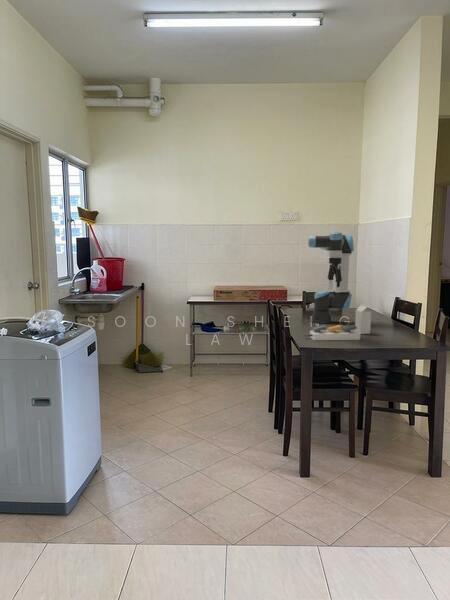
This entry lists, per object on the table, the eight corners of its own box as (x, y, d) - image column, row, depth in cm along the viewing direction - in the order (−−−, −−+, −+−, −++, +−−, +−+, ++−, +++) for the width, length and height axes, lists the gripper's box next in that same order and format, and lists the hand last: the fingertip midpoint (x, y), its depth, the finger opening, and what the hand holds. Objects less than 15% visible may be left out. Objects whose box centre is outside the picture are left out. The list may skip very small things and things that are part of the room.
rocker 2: (342, 330, 276) (341, 327, 276) (354, 327, 277) (353, 324, 276) (344, 331, 272) (343, 329, 271) (356, 328, 272) (356, 325, 272)
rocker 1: (312, 330, 275) (312, 327, 275) (324, 327, 275) (324, 324, 275) (314, 332, 270) (314, 329, 270) (326, 329, 271) (326, 326, 270)
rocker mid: (327, 330, 276) (326, 327, 275) (339, 327, 276) (338, 324, 276) (329, 332, 271) (329, 329, 271) (341, 328, 271) (341, 326, 271)
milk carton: (360, 334, 284) (362, 305, 282) (354, 332, 291) (356, 304, 288) (370, 333, 286) (371, 305, 284) (364, 331, 293) (365, 303, 290)
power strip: (302, 336, 276) (302, 329, 276) (354, 336, 279) (354, 328, 278) (306, 340, 266) (306, 332, 266) (360, 339, 269) (360, 332, 268)
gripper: (323, 256, 283) (322, 289, 286) (335, 257, 258) (334, 293, 261) (334, 256, 283) (333, 289, 286) (348, 258, 259) (346, 293, 261)
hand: (333, 291), depth 273 cm, fingers open, 13 cm apart
